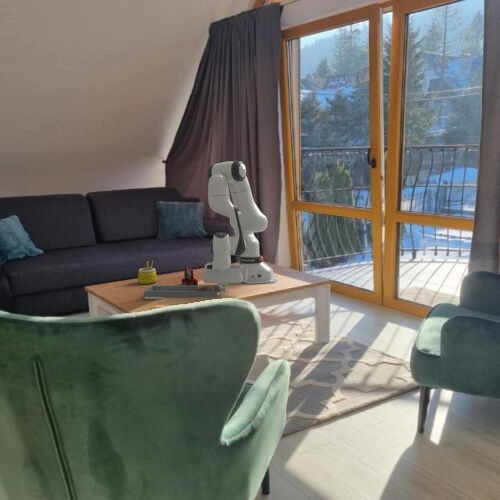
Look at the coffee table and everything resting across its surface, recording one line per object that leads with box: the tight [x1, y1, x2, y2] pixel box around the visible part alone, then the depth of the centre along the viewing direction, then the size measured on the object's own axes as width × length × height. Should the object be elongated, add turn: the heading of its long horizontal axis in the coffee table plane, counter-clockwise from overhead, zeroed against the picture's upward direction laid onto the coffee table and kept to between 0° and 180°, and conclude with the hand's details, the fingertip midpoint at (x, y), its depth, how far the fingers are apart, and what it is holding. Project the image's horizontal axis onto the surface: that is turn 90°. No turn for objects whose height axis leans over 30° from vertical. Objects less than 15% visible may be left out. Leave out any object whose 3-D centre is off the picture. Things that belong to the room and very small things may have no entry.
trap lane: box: [143, 284, 222, 300], centre depth 297 cm, size 38×12×4 cm, turn 81°
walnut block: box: [196, 284, 215, 291], centre depth 295 cm, size 8×6×4 cm
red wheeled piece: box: [180, 266, 199, 286], centre depth 317 cm, size 7×12×10 cm, turn 24°
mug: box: [137, 260, 158, 285], centre depth 329 cm, size 13×11×12 cm
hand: (223, 291), depth 294 cm, fingers closed
